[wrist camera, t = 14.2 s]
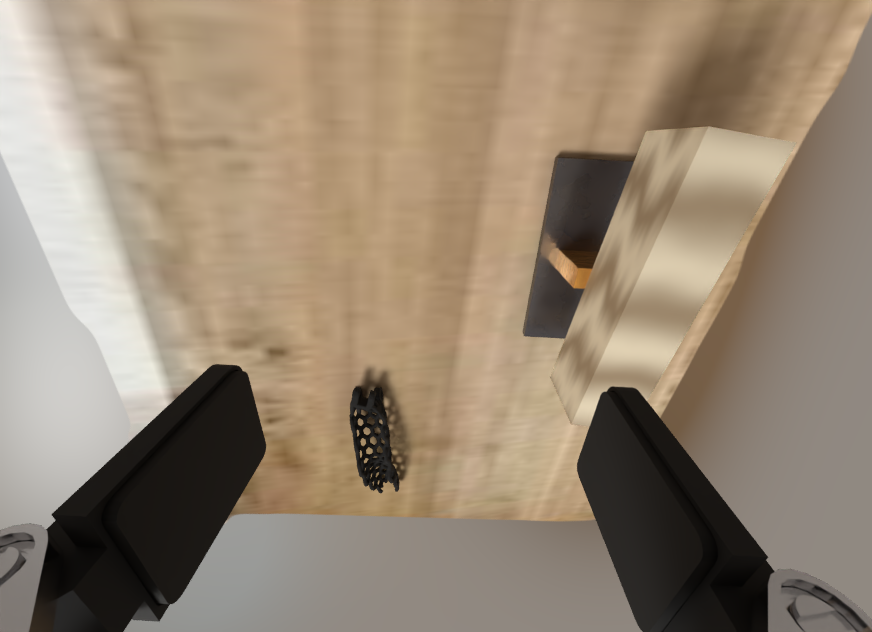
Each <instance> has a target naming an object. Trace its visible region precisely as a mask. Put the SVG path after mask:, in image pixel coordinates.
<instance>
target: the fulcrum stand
mask: <svg viewBox="0 0 872 632" xmlns="http://www.w3.org/2000/svg"><path fill="white" fill-rule="evenodd" d="M633 163H634V161H614V160H594V159H574V158H555V162H554V167H553V173H552V178H551V183H550V189H549V194H548V199H547V205H546V210H545V215H544V221H543V226H542V231H541V237H540V242H539V247H538V253H537V258H536V264H535V269H534V274H533V280H532V285H531V290H530V296H529V301H528V306H527V312H526V317H525V322H524V328H523V334H524V336H530V337H548V338H566V335H567V333H568V330H569V328H570V325H571V322H572V320H573V317H574V315H575V312H576V310H577V307H578V304H579V302H580V299H581V297H582V294H583V292H584V289H585V286H586V284H587V281H588V279H589V276H590V274H591V271H592V268H593V266H594V263H595V261H596V258H597V256H598V253H599V251H600V248H601V245H602V243H603V240H604V238H605V235H606V233H607V230H608V227H609V225H610V222H611V220H612V217H613V215H614V212H615V209H616V207H617V204H618V202H619V199H620V197H621V194H622V191H623V189H624V186H625V184H626V181H627V179H628V176H629V174H630V171H631V168H632V166H633Z"/></svg>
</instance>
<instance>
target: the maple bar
mask: <svg viewBox="0 0 872 632" xmlns="http://www.w3.org/2000/svg"><path fill="white" fill-rule="evenodd" d="M795 145H796V142H791V141H785V140H780V139H774V138H769V137H764V136H758V135H753V134H747V133H742V132H737V131H731V130H726V129H720V128H715V127H710V126H707V127H693V128H679V129H666V130H652V131H646V132H645V135H644V138H643V140H642V143H641V145H640V148H639V150H638V153H637V156H636V158H635V161H634V163H633V166H632V168H631V171H630V174H629V176H628V179H627V181H626V184H625V186H624V189H623V191H622V194H621V197H620V199H619V202H618V204H617V207H616V209H615V212H614V215H613V217H612V220H611V222H610V225H609V227H608V230H607V233H606V235H605V238H604V240H603V243H602V245H601V248H600V251H599V253H598V256H597V258H596V261H595V263H594V266H593V268H592V271H591V274H590V276H589V279H588V281H587V284H586V286H585V289H584V292H583V294H582V297H581V299H580V302H579V304H578V307H577V310H576V312H575V315H574V317H573V320H572V322H571V325H570V328H569V330H568V333H567V335H566V338H565V340H564V343H563V345H562V348H561V351H560V353H559V356H558V358H557V361H556V363H555V366H554V369H553V371H552V374H551V376H550V378H551V380H552V382H553V385H554V387H555V389H556V392H557V394H558V396H559V398H560V401H561V403H562V405H563V407H564V410H565V412H566V414H567V416H568V419H569V421H570V423H571V424H572V425H579V426H586V427H590V424H591V421H592V418H593V415H594V413H595V410H596V407H597V404H598V401H599V398H600V395H601V393H602V392H607V390H608V389H609V388H610V387H612V386H615V387H633V388H636V389H637V390H638V391H639V392H640V393H641V394H642V396H643V397H644V398H645V399H646V401H648V399H649V397H650V395H651V394H652V392H653V390H654V389H655V387H656V385H657V383H658V382H659V380H660V378H661V376H662V375H663V373H664V371H665V370H666V368H667V366H668V364H669V363H670V361H671V359H672V357H673V356H674V354H675V352H676V351H677V349H678V347H679V345H680V344H681V342H682V340H683V338H684V337H685V335H686V333H687V332H688V330H689V328H690V326H691V325H692V323H693V321H694V319H695V318H696V316H697V314H698V313H699V311H700V309H701V307H702V306H703V304H704V302H705V300H706V299H707V297H708V295H709V294H710V292H711V290H712V288H713V287H714V285H715V283H716V281H717V280H718V278H719V276H720V275H721V273H722V271H723V269H724V268H725V266H726V264H727V262H728V261H729V259H730V257H731V256H732V254H733V252H734V250H735V249H736V247H737V245H738V243H739V242H740V240H741V238H742V237H743V235H744V233H745V231H746V230H747V228H748V226H749V224H750V223H751V221H752V219H753V217H754V216H755V214H756V212H757V211H758V209H759V207H760V205H761V204H762V202H763V200H764V198H765V197H766V195H767V193H768V192H769V190H770V188H771V186H772V185H773V183H774V181H775V179H776V178H777V176H778V174H779V173H780V171H781V169H782V167H783V166H784V164H785V162H786V160H787V159H788V157H789V155H790V154H791V152H792V150H793V148H794V147H795Z"/></svg>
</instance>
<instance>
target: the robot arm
mask: <svg viewBox="0 0 872 632" xmlns="http://www.w3.org/2000/svg"><path fill="white" fill-rule="evenodd" d="M265 450H266V442H265V438H264V435H263V431H262V427H261V423H260V419H259V415H258V412H257V408H256V404H255V400H254V396H253V392H252V389H251V385H250V381H249V377H248V374H247V373H246V372H244V371H242V369H241V368H240V367H239V366H237V365H220V364H215V365H212V366H211V367H209V368H208V369H207V370H206V371H205V372H204V373H203V374H202V375H201V376H200V377H199V378H198V379H196V380H195V381H194V382H193V383H192V384H191V385H190V386H189V387H188V388H187V389H186V390H185V391H184V392H182V393H181V394H180V395H179V396H178V397H177V398H176V399H175V400H174V401H173V402H172V403H171V404H170V405H169V406H167V407H166V408H165V409H164V410H163V411H162V412H161V413H160V414H159V415H158V416H157V417H156V418H155V419H153V420H152V421H151V422H150V423H149V424H148V425H147V426H146V427H145V428H144V429H143V430H142V431H141V432H140V433H138V434H137V435H136V436H135V437H134V438H133V439H132V440H131V441H130V442H129V443H128V444H127V445H126V446H125V447H124V448H122V449H121V450H120V451H119V452H118V453H117V454H116V455H115V456H114V457H113V458H112V459H111V460H109V461H108V462H107V463H106V464H105V465H104V466H103V467H102V468H101V469H100V470H99V471H98V472H97V473H95V474H94V475H93V476H92V477H91V478H90V479H89V480H88V481H87V482H86V483H85V484H84V485H83V486H81V487H80V488H79V490H77V491H76V492H75V493H74V494H73V495H72V496H71V497H70V498H69V499H68V500H66V502H64V503H63V504H62V505H61V506H60V507H59V508H58V509H57V510H56V511H55V512H54V513H53V514H52V516H53V517H54V518H55V520H56V521H55V522H54V523H53V524H52V525H51V526H50V527H48V529H44V527H42V526H41V525H37V524H31V523H29V524H21V525H15V526H11V527H8V528H5V529H2V530H0V632H123V631H124V630H125V628H126V627H127V625H128V624H129V622H130V621H131V619H133V620H145V621H160V619H161V618H162V616H163V614H164V613H165V611H166V610H167V608H168V606H169V605H170V604H173V603H175V602H176V601H177V600H178V599H179V598H180V597H181V595H182V594H183V592H184V590H185V589H186V587H187V585H188V584H189V582H190V580H191V579H192V577H193V575H194V574H195V572H196V570H197V569H198V566H199V565H200V563H201V562H202V560H203V558H204V556H205V555H206V553H207V552H208V550H209V548H210V547H211V545H212V543H213V541H214V540H215V538H216V536H217V535H218V533H219V531H220V530H221V528H222V526H223V525H224V523H225V521H226V520H227V518H228V516H229V514H230V513H231V511H232V509H233V508H234V506H235V504H236V503H237V501H238V499H239V498H240V496H241V494H242V493H243V491H244V489H245V487H246V486H247V484H248V482H249V481H250V479H251V477H252V476H253V474H254V472H255V471H256V469H257V467H258V466H259V464H260V462H261V460H262V459H263V457H264V454H265ZM577 471H578V475H579V478H580V481H581V483H582V486H583V488H584V491H585V493H586V496H587V498H588V501H589V503H590V506H591V508H592V511H593V514H594V516H595V519H596V521H597V523H598V526H599V529H600V531H601V534H602V536H603V539H604V541H605V544H606V546H607V549H608V551H609V554H610V557H611V559H612V562H613V564H614V567H615V569H616V572H617V574H618V577H619V579H620V582H621V584H622V587H623V589H624V592H625V594H626V597H627V599H628V602H629V604H630V607H631V609H632V612H633V615H634V617H635V620H636V622H637V624H638V626H639V628H640V629H641V630H642V631H643V632H872V619H871V618H870V617H869V616H868V615H867V614H866V613H865V612H864V611H863V610H862V609H861V608H860V607H858V606H857V605H856V604H855V603H853V602H852V601H851V600H850V599H848V598H847V597H846V596H845V595H844V594H842V593H841V592H839V591H838V590H836V589H835V588H833V587H832V586H830V585H828V584H827V583H825V582H824V581H822V580H820V579H817V578H815V577H813V576H811V575H809V574H807V573H804V572H800V571H796V570H792V569H778V570H777V571H774V570H773V569H772V568H771V566H770V565H769V564H768V562H767V561H766V559H767V558H768V556H767V555H766V554H765V553H764V551H763V550H762V549H761V548H760V546H759V545H758V544H757V542H756V541H755V540H754V538H753V537H752V536H751V535H750V533H749V532H748V531H747V530H746V529H745V527H744V526H743V524H742V523H741V522H740V520H739V519H738V518H737V517H736V515H735V514H734V513H733V511H732V510H731V509H730V508H729V507H728V505H727V504H726V502H725V501H724V500H723V499H722V497H721V496H720V495H719V493H718V492H717V491H716V490H715V488H714V487H713V486H712V485H711V483H710V482H709V481H708V479H707V478H706V477H705V475H704V474H703V473H702V472H701V470H700V469H699V468H698V466H697V465H696V464H695V463H694V461H693V460H692V459H691V457H690V456H689V455H688V454H687V452H686V451H685V450H684V449H683V447H682V446H681V445H680V443H679V442H678V441H677V439H676V438H675V437H674V436H673V434H672V433H671V432H670V430H669V429H668V428H667V427H666V425H665V424H664V423H663V421H662V420H661V419H660V417H659V416H658V415H657V414H656V412H655V411H654V410H653V408H652V407H651V406H650V405H649V403H648V402H647V401H646V399H645V398H644V397H643V396H642V394H641V393H640V392H639V391H638V390H637V389H636V388H633V387H615V386H612V387H610V388H609V389H608V390H607V392H602V393H601V395H600V398H599V401H598V404H597V407H596V410H595V413H594V415H593V418H592V421H591V424H590V427H589V430H588V433H587V436H586V439H585V442H584V445H583V448H582V450H581V453H580V456H579V459H578V463H577Z"/></svg>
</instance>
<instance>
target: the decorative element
mask: <svg viewBox="0 0 872 632" xmlns="http://www.w3.org/2000/svg"><path fill="white" fill-rule="evenodd" d="M382 400H383V392H382V388H375V389H374V391H373V390H370V394H369V398H363V395H362V391H361V388H359V387H356V388H354V390H353V394H352V401H351V403H350V425H351V430H352V433H353V441H354V449H355V453H356V460H357V468H358V472H359V476H360V477H362V478H363V483H364V485H365V486H368V485H369V487H370V489H371V490H373V491H374V490H375V489H377V490H378V492H379V493H382V492H383V490H381V488H383V482H385V483H387V481H389V482H390V483H393V485H394V487H395V491H396V492H397V491H398V490H399V478H398V473H397V471H396V469H395V467H394V465H393V464H392V452H391V447H390V434H389V427H388V425H387V414H386V411H385V409H384V406H383V404H382ZM361 409H362V410H364V411H368V414H367V415H366V416H364V415H362V414H361ZM355 410H357V415H356V417H355V416H354V412H355ZM372 412H375V413H377V415H375V414H373V413H372ZM369 417H372V418H373V419H375V423H374V424H373V425H371V424H369V423H368V422H367V419H368V418H369ZM359 418H360V419H362V420H363V423H364V424H363V425H362V426H359V425H358V419H359ZM379 418H380V419H381V420H382V421H383V424H380V423H379ZM365 427H367V428H369V429H370V431H371V433H370V434H369V435H368V436H367V435H366V434H364V432H363V429H364V428H365ZM376 427H379V428H380V431H381V433H380V434H379V435H378V434H377V433H375V430H374V428H376ZM357 430H359V436H358V437H357ZM385 432H386V433H385ZM372 436H374V437H375V438H377V443H376V444H375V445H373V444H372V443H370V438H371V437H372ZM381 437H382V439H383V440H384V441H385V444H383V443H382V442H381ZM362 438H364V439H366V445H365V446H364V447H363V446H362V445H361V442H360V441H361V439H362ZM379 446H380V447H381V448H382V449H383V452H382V453H378V452H377V448H378V447H379ZM368 447H370V448H371V449H373V453H372V454H366V449H367V448H368ZM360 450H361V451H362V457H361V458H360ZM374 456H377V458H373V457H374ZM365 458H368V459H369V460H368V461H367V463H365V464H364V460H365ZM371 462H372V463H371ZM372 466H373V467H372ZM378 466H380V467H379V468H377V469H376V467H378ZM371 467H372V468H371ZM365 468H366V470H365ZM370 468H371V469H370ZM382 469H387V470H385V471H384V470H382ZM378 472H379V475H378V476H377V477H376V473H378ZM371 474H372V477H371ZM383 474H385V477H384V478H382V475H383ZM366 477H367V478H366ZM370 477H371V479H370ZM378 480H379V485H378ZM373 481H374V486H373V483H372V482H373Z"/></svg>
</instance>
